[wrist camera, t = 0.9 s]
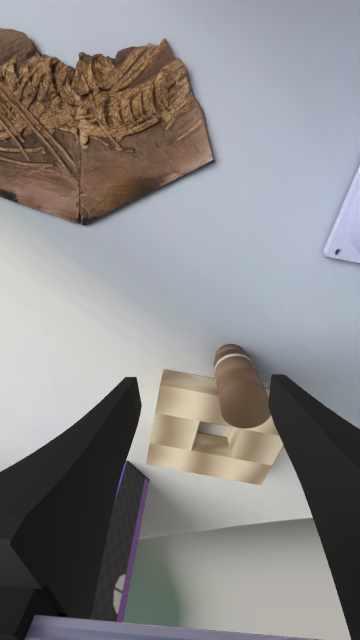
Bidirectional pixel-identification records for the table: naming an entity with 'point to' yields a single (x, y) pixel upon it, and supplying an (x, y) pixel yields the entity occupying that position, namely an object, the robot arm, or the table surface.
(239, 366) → the peg
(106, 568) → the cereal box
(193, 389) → the board
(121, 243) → the table surface
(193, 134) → the wooden fragment
